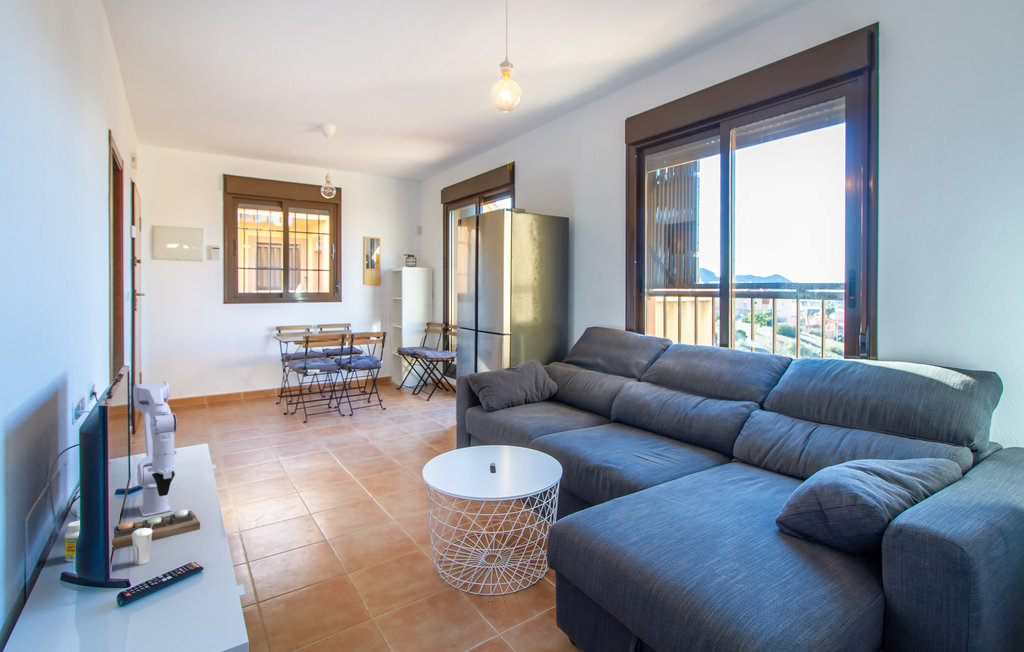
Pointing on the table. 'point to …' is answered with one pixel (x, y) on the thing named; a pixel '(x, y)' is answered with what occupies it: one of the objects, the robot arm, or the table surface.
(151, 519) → the sage button
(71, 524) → the supplement bottle
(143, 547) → the milkshake
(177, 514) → the grey button
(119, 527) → the terracotta button
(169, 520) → the button board
